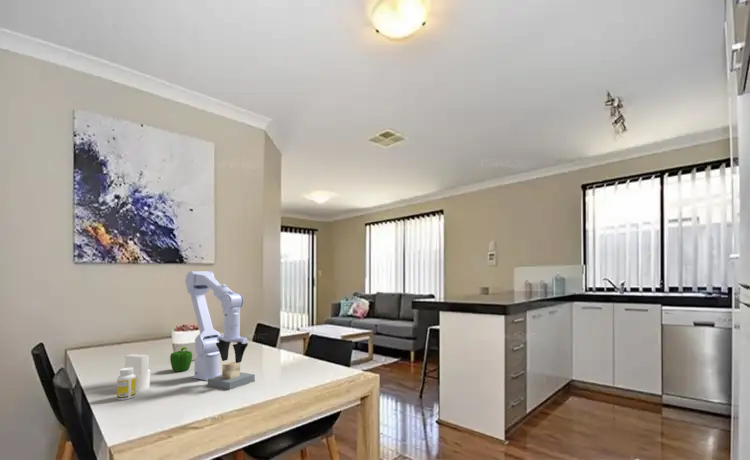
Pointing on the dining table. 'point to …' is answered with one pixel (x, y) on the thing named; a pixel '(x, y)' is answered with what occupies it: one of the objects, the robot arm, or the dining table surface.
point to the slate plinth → (231, 381)
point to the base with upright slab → (139, 370)
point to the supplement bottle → (126, 384)
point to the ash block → (230, 370)
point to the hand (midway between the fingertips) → (231, 361)
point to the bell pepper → (181, 360)
